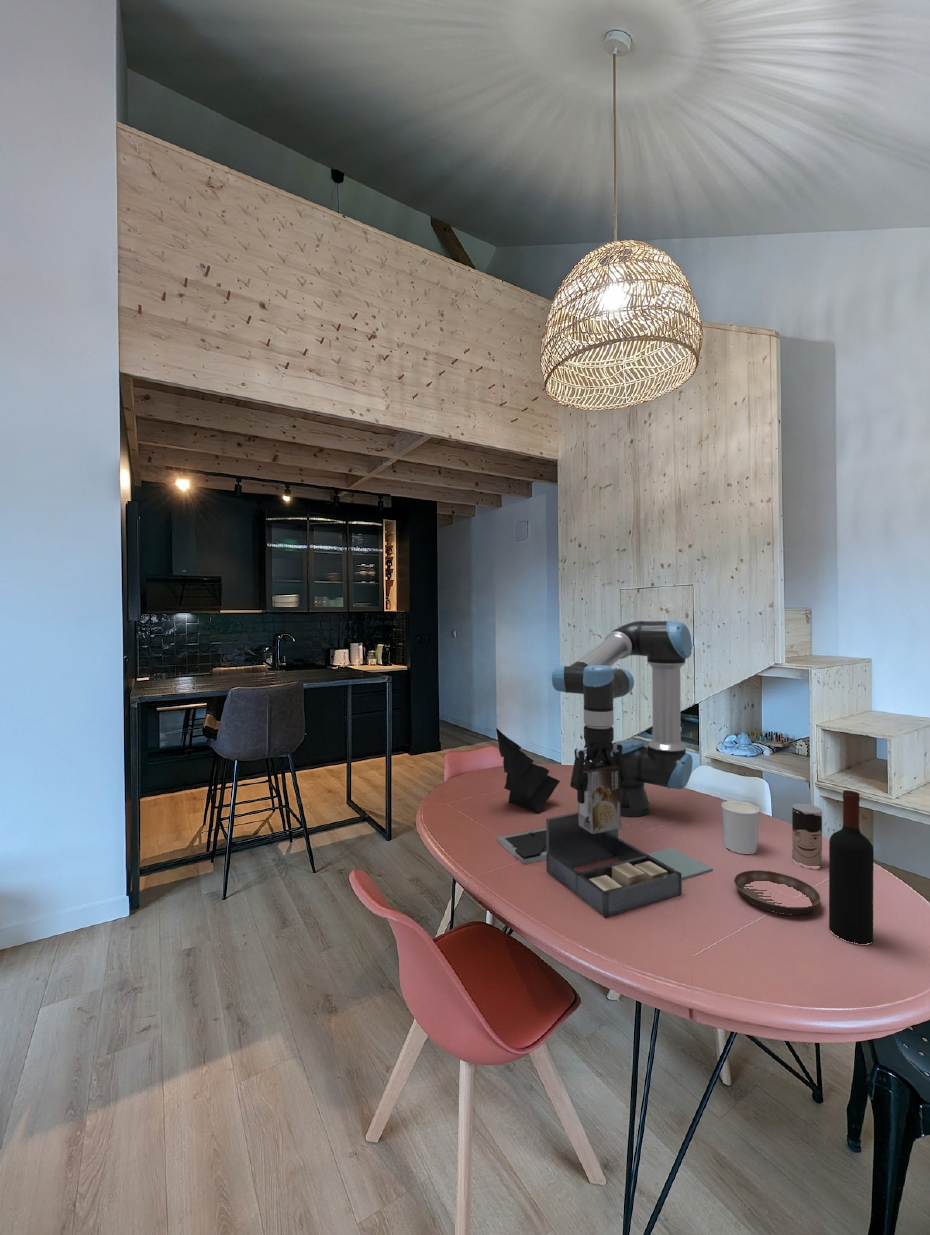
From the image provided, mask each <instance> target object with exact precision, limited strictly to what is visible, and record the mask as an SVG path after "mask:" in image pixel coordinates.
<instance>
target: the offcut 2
mask: <svg viewBox="0 0 930 1235" xmlns="http://www.w3.org/2000/svg"><path fill="white" fill-rule="evenodd" d="M634 867H636V868H638V869H639V870H641V871H643V872H644V873H645V881H647V880H651V879H655V878H658V877H662V876H665V875H667V871H666V870H664V869H662V868H661V867H659V866H657V865H655V864H654V863H652V862H650V861H647V862H644V863H640V864H636V865H634Z"/></svg>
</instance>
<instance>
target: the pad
mask: <svg viewBox="0 0 930 1235" xmlns="http://www.w3.org/2000/svg"><path fill="white" fill-rule="evenodd" d="M646 854H648V855H649V856H651V857H653V858H655V859H657V860H658V861H660V862H662V863H664V864H665V865H667V866H669V867H671V868H673V869H674V870H676V871H678V872H680V873H681V874H682V880H683V881H684V880H686V878H687V879H689V877H690V878H693V877H696V875H697V876H699V874H700V875H703V874H702V873H704V874H707V873H710V872H712V871H711V870H713V871H714V868H713V867H711V866H710V865H707V864H706V863H703V862H702V861H699V860H698V859H696V858H694V857H691V856H690V855H688V854H686V853H684V852H682V851H681V850H678V849H676V848H674V847H673V846H672V847H671V846H670V847H668V848H664V849H660V850H656V851H652V852H647V853H646ZM709 871H710V872H709ZM706 872H707V873H706Z"/></svg>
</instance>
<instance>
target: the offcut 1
mask: <svg viewBox="0 0 930 1235" xmlns="http://www.w3.org/2000/svg"><path fill="white" fill-rule="evenodd" d="M589 880H590V881H591V882H592V883H594V884H595V885H597V886H598V887H599V888H601V889H602V890H603V891H605V892H609V891H612V890H616V889H619V888H622V886H620V885H619V884H618V883H616V882H615V881H614V880H612V879H611V878H610V877H608V876H607V875H604V876H599V877H595V878H590V879H589Z"/></svg>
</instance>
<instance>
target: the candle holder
mask: <svg viewBox="0 0 930 1235" xmlns="http://www.w3.org/2000/svg"><path fill="white" fill-rule="evenodd" d="M760 812H761V809H760V808H759V807H758V806H757V805H755V804H752V803H749V802H745V801H740V800H739V801H738V800H728V801H722V803H721V817H722V818H721V819H722V834H723V835H722V836H723V845H724V847H726V848H728V849H730V850H731V851H734V852H737V853H753V852H755V851H756V850H757V851H758V838H759V825H760ZM726 848H725V849H726ZM728 849H727V850H728ZM731 851H730V852H731ZM757 851H756V852H757ZM734 852H733V853H734ZM737 853H736V854H737Z"/></svg>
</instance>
